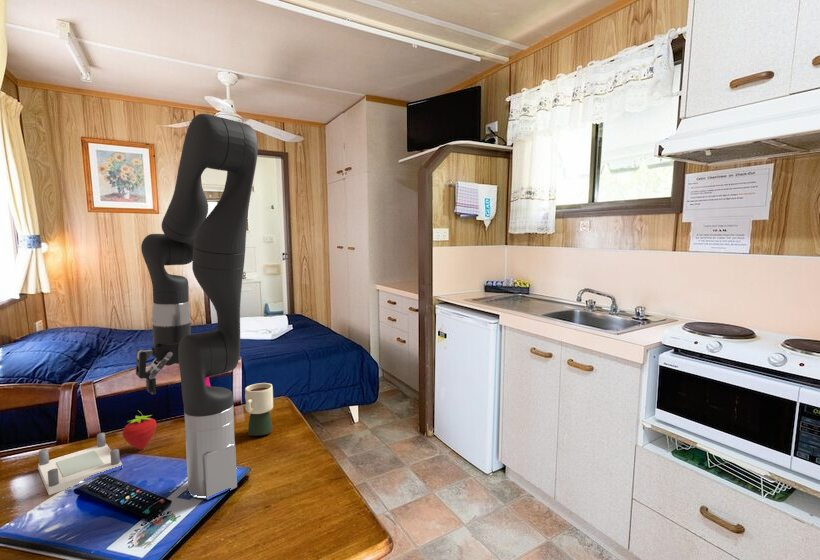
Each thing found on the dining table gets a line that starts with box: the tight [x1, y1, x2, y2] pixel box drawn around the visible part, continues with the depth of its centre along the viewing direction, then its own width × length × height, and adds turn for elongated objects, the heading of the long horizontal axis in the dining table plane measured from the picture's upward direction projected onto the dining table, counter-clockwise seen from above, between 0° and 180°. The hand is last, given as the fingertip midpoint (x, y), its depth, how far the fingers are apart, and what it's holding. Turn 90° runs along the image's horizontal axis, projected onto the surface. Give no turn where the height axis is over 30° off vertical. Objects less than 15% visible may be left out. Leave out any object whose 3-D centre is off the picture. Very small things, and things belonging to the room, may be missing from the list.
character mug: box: [244, 382, 274, 437], centre depth 108 cm, size 11×7×13 cm, turn 169°
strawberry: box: [122, 409, 158, 451], centre depth 99 cm, size 6×8×10 cm
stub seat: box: [37, 432, 123, 496], centre depth 90 cm, size 15×13×4 cm
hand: (173, 388), depth 93 cm, fingers open, 8 cm apart
